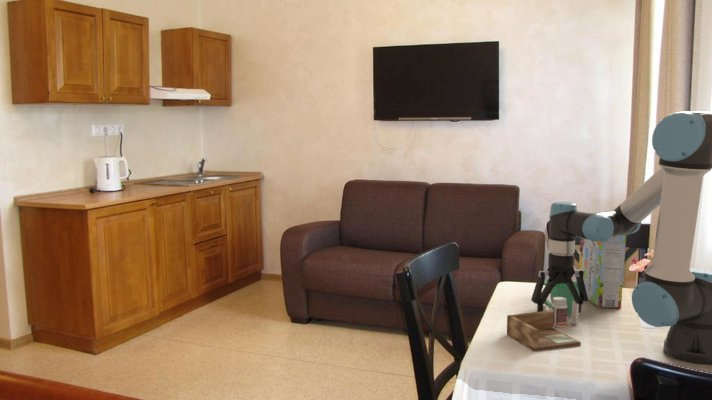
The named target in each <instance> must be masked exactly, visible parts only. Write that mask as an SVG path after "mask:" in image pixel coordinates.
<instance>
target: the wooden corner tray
mask: <svg viewBox="0 0 712 400" xmlns="http://www.w3.org/2000/svg"><path fill="white" fill-rule="evenodd" d="M506 317H507V318H506V336H507V335H508V337H509V336H510V337H509V338H511V339H512V338H513V339H512V340H514V339H515V340H514V341H516V342H517V341H518V342H517V343H519V344H520V345H523V346H524V347H525V348H527V349H529V350H531V351H533V352H535V353H536V352H541V351H550V350H557V349H563V348H565V349H566V348H572V347H580V346H581V341H580V340H578V339H576V338H574V337H572V336H570V335H568V334H567V333H564V332H562V331H560V330H559V329H556V327H555V328H554V326H553V320H554V311H552V310H551V309H550V310H546V311H541V312H537V311H535V312H534V311H533V312H524V313H515V314H507V316H506Z"/></svg>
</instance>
